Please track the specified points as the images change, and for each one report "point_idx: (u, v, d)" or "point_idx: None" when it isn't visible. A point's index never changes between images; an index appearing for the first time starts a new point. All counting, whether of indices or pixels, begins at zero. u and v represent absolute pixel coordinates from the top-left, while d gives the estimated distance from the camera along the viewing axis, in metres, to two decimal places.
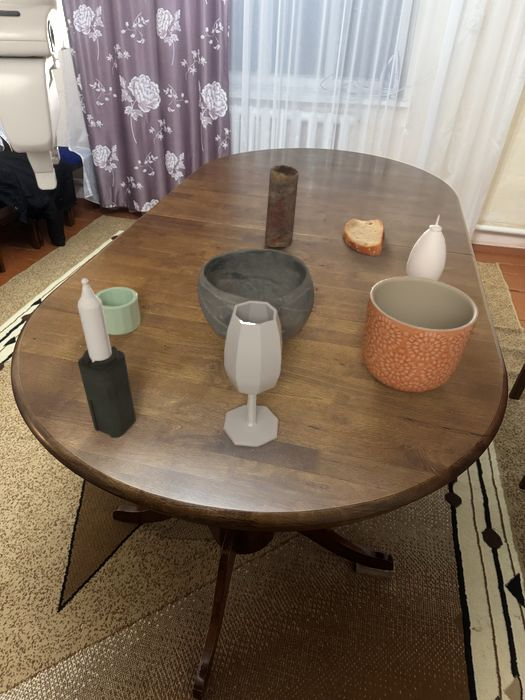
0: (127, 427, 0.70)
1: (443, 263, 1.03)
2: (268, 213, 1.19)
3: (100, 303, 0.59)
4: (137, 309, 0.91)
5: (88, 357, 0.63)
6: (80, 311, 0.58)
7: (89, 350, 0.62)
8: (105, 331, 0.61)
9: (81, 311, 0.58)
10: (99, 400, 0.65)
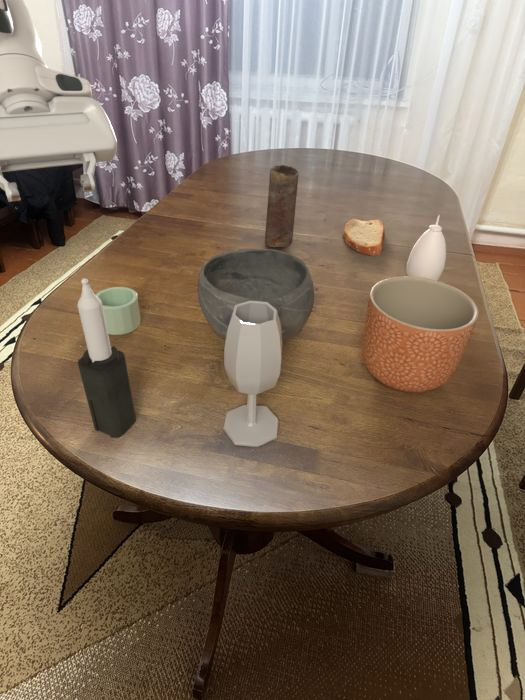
0: (127, 427, 0.70)
1: (443, 263, 1.03)
2: (268, 213, 1.19)
3: (100, 303, 0.59)
4: (137, 309, 0.91)
5: (88, 357, 0.63)
6: (80, 311, 0.58)
7: (89, 350, 0.62)
8: (105, 331, 0.61)
9: (81, 311, 0.58)
10: (99, 400, 0.65)
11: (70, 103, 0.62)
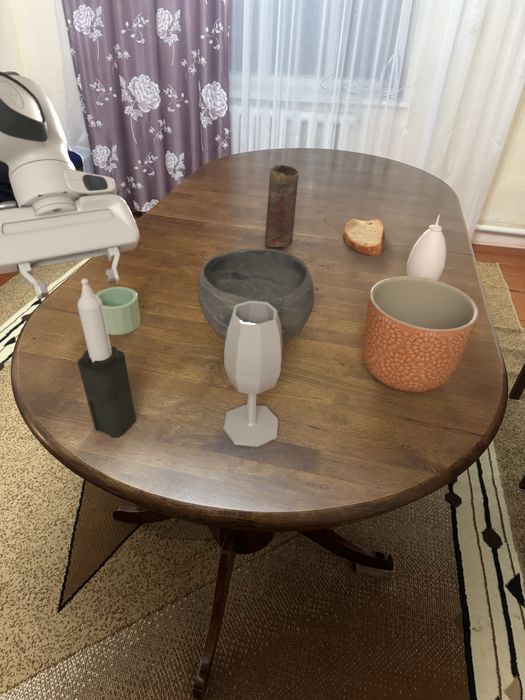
0: (127, 427, 0.70)
1: (443, 263, 1.03)
2: (268, 213, 1.19)
3: (100, 303, 0.59)
4: (137, 309, 0.91)
5: (88, 357, 0.63)
6: (80, 311, 0.58)
7: (89, 350, 0.62)
8: (105, 331, 0.61)
9: (81, 311, 0.58)
10: (99, 400, 0.65)
11: (95, 201, 0.65)
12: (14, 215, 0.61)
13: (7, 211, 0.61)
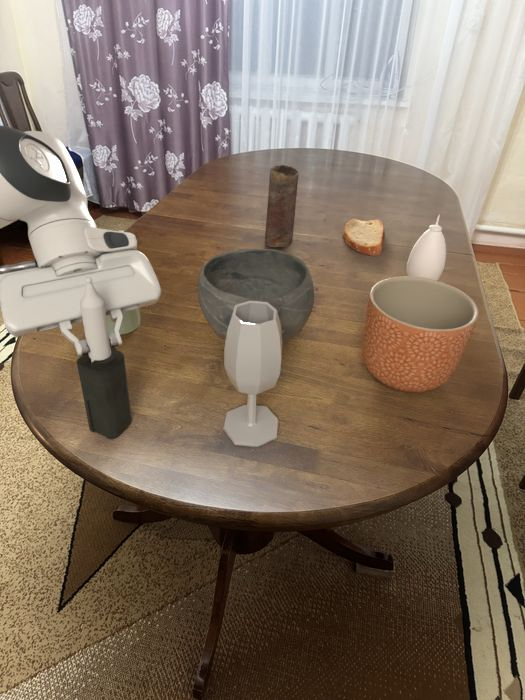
0: (123, 429, 0.70)
1: (443, 263, 1.03)
2: (268, 213, 1.19)
3: (103, 302, 0.59)
4: (137, 309, 0.91)
5: (87, 356, 0.63)
6: (82, 310, 0.58)
7: (89, 350, 0.62)
8: (106, 331, 0.61)
9: (83, 309, 0.58)
10: (96, 400, 0.65)
11: (117, 259, 0.63)
12: (34, 277, 0.59)
13: (27, 273, 0.59)
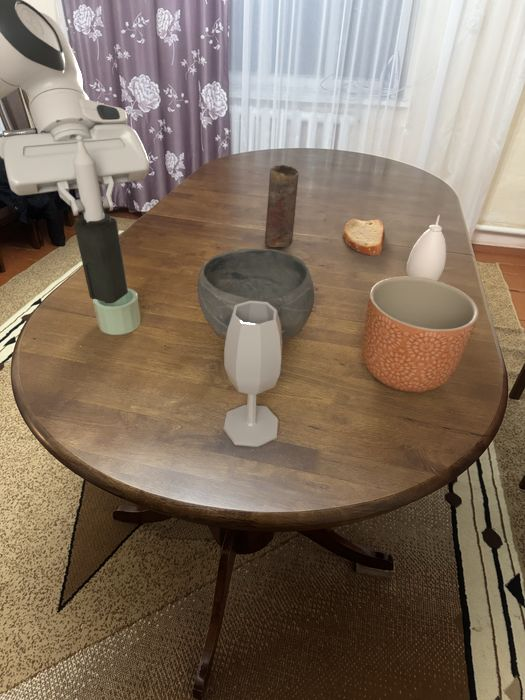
0: (120, 295, 0.77)
1: (443, 263, 1.03)
2: (268, 213, 1.19)
3: (93, 161, 0.65)
4: (137, 309, 0.91)
5: (83, 219, 0.70)
6: (75, 168, 0.65)
7: None
8: (98, 191, 0.68)
9: (76, 167, 0.65)
10: (94, 262, 0.72)
11: (109, 130, 0.70)
12: (34, 139, 0.66)
13: (28, 135, 0.66)
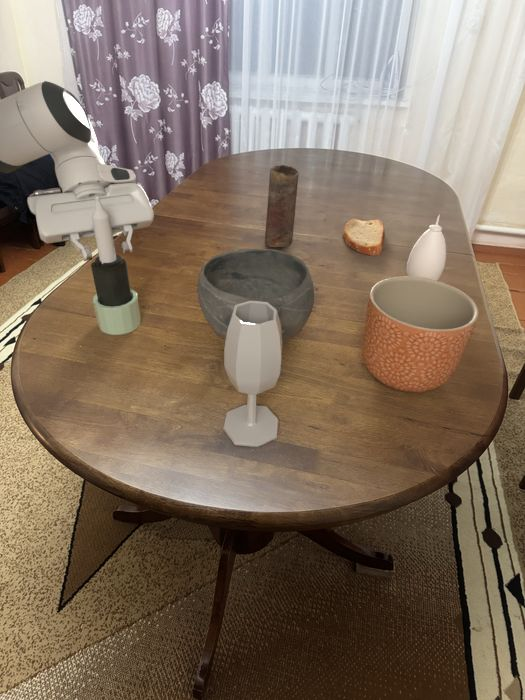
0: None
1: (443, 263, 1.03)
2: (268, 213, 1.19)
3: (108, 216, 0.80)
4: (137, 309, 0.91)
5: (99, 261, 0.84)
6: (94, 221, 0.79)
7: (99, 254, 0.83)
8: (112, 239, 0.82)
9: (94, 220, 0.79)
10: (107, 295, 0.87)
11: (120, 188, 0.84)
12: (60, 198, 0.81)
13: (55, 195, 0.81)
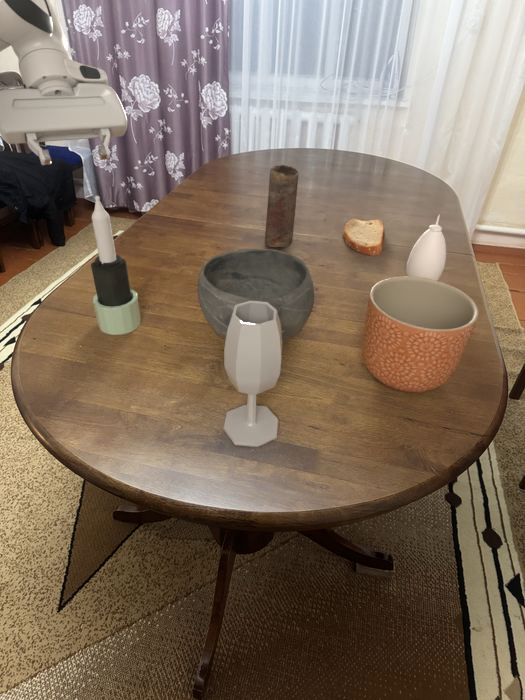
0: None
1: (443, 263, 1.03)
2: (268, 213, 1.19)
3: (108, 216, 0.80)
4: (137, 309, 0.91)
5: (99, 261, 0.84)
6: (93, 221, 0.79)
7: (99, 254, 0.83)
8: (111, 239, 0.82)
9: (94, 220, 0.79)
10: (107, 295, 0.87)
11: (90, 88, 0.78)
12: (23, 93, 0.74)
13: (17, 90, 0.74)
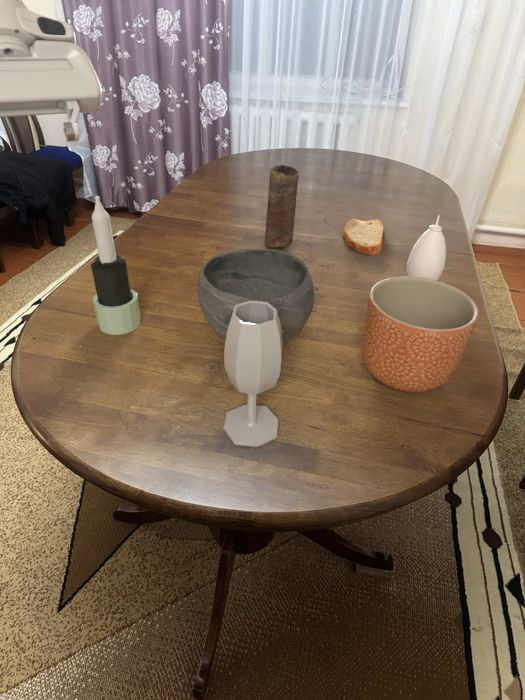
0: None
1: (443, 263, 1.03)
2: (268, 213, 1.19)
3: (108, 216, 0.80)
4: (137, 309, 0.91)
5: (99, 261, 0.84)
6: (93, 221, 0.79)
7: (99, 254, 0.83)
8: (111, 239, 0.82)
9: (94, 220, 0.79)
10: (107, 295, 0.87)
11: (52, 48, 0.60)
12: None
13: None
